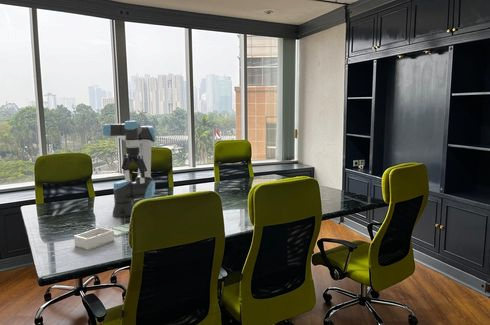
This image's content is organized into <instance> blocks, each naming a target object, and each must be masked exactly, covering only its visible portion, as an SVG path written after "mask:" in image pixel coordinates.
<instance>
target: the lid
mask: <svg viewBox="0 0 490 325" xmlns="http://www.w3.org/2000/svg"><path fill="white" fill-rule="evenodd" d="M129 224H130V223H125V224H123V225H122V224H119V226H116V227H111V228H110V230H114V238H115V237H116V238H117V237H121V236H123V235H126V234H128V232H129ZM129 233H130V232H129Z"/></svg>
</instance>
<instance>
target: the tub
mask: <svg viewBox="0 0 490 325" xmlns="http://www.w3.org/2000/svg"><path fill="white" fill-rule="evenodd" d="M110 229H111V228H110ZM110 229H109V228H105V227H102V226H100V227H97V228H94V229H90V230H87V231H84V232H81V233H79V234H74V235H73V240H74V247H75V248H78V249H81V250H84V251H88V252H89V251H91V250H94V249H96V248H100V247H101V246H105V245H107V244H110V243H112V242H115V236H114V230H110Z"/></svg>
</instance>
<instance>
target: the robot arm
mask: <svg viewBox="0 0 490 325" xmlns="http://www.w3.org/2000/svg"><path fill="white" fill-rule="evenodd" d="M102 133H103V136H105V137H114V138H118V139H120V140H121V141H125V147H126V148H125V150H126V151H125V152H126V154H124V155H123V157H124V158H123V162H122V165H121V170H123V171H124V179H122V180H118V181H116V182H114V183H113V190H112V191H113V197H114V198H113V199H114V205H113V210H112V216H113V217H115V218H129V217H131V210H132V207H133V206H134V207H135V204H134V202H133V200H138V199H139V200H143V199H144V200H145V199H152V198H153V197H154V195H155V192H156V190H155V189H156V182H155V180H153V177H152V176H151V175H152V172H151V171H152V170H151V169H152V147H153V145H154V143H155V142H157V137H156V132H155V127H154V126H153V125H140V124H139V123H138V121H137V120H126V121H124V123H104V124H103V126H102ZM132 164H135V165H136V167H137V176H136V177H135V179H134V180H135V181H132V180H131V179H130V178H131V177H130V170H129V168H130V166H131V165H132Z"/></svg>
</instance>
